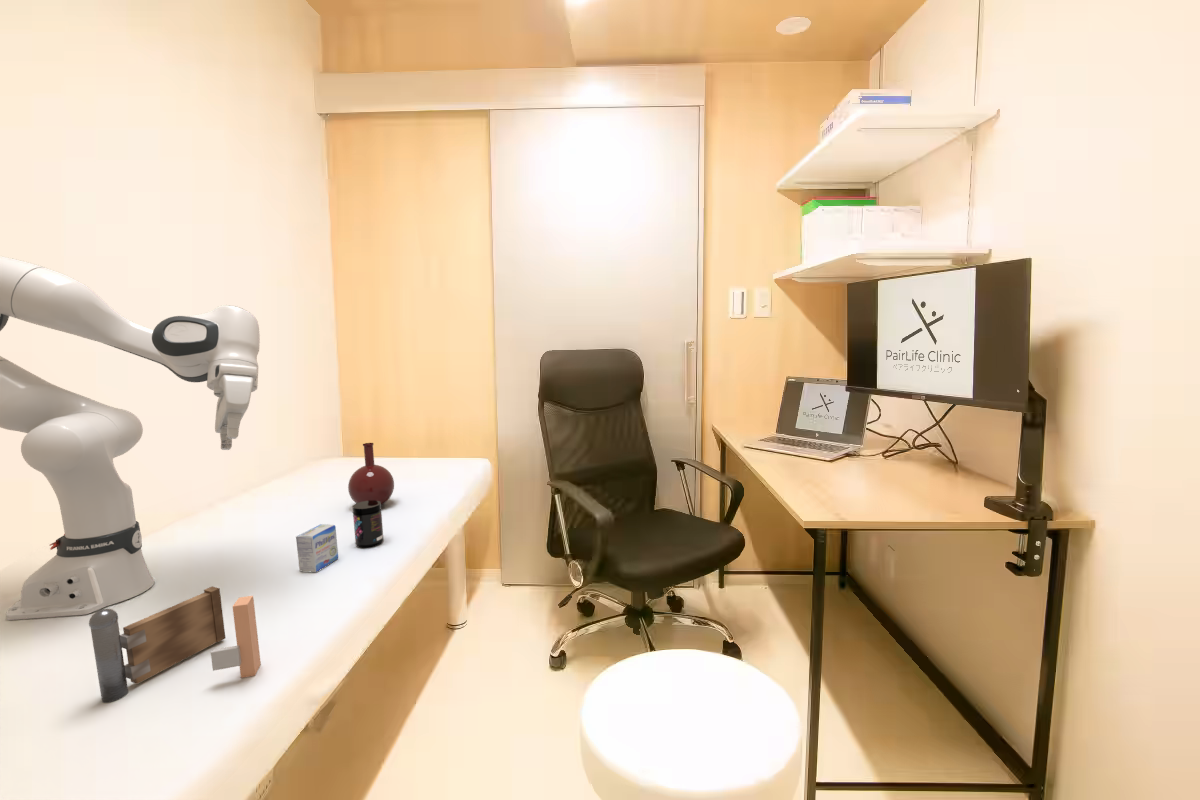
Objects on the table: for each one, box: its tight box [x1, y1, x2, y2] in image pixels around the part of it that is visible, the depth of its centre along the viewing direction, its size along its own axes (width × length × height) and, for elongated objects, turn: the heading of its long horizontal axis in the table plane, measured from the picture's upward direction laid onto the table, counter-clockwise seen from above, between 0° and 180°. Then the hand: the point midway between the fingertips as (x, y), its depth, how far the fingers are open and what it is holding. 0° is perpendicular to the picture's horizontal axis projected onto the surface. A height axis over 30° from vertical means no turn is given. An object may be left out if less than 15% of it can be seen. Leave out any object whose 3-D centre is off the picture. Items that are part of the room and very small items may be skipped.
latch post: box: [210, 595, 262, 679], centre depth 86 cm, size 5×4×12 cm
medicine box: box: [295, 523, 339, 573], centre depth 127 cm, size 8×4×9 cm, turn 168°
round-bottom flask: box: [347, 442, 395, 506], centre depth 168 cm, size 13×13×20 cm
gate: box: [120, 586, 226, 685], centre depth 90 cm, size 14×2×9 cm, turn 158°
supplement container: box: [351, 500, 384, 549], centre depth 139 cm, size 7×7×10 cm
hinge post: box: [88, 608, 129, 704], centre depth 81 cm, size 3×3×14 cm
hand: (229, 443), depth 111 cm, fingers open, 8 cm apart
